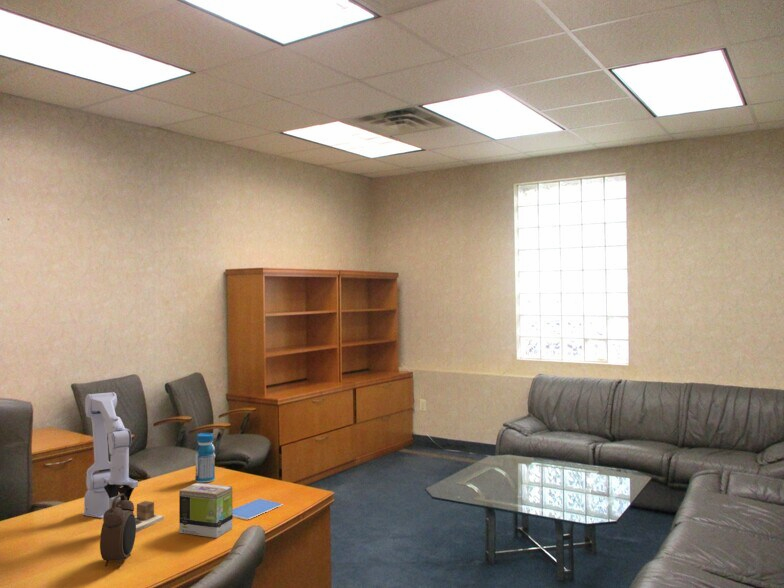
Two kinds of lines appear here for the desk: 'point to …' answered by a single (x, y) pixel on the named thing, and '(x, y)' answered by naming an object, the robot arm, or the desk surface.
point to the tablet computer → (254, 509)
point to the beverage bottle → (205, 458)
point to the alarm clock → (118, 531)
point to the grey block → (112, 501)
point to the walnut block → (145, 510)
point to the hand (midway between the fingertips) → (119, 506)
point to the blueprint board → (147, 522)
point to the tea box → (205, 510)
